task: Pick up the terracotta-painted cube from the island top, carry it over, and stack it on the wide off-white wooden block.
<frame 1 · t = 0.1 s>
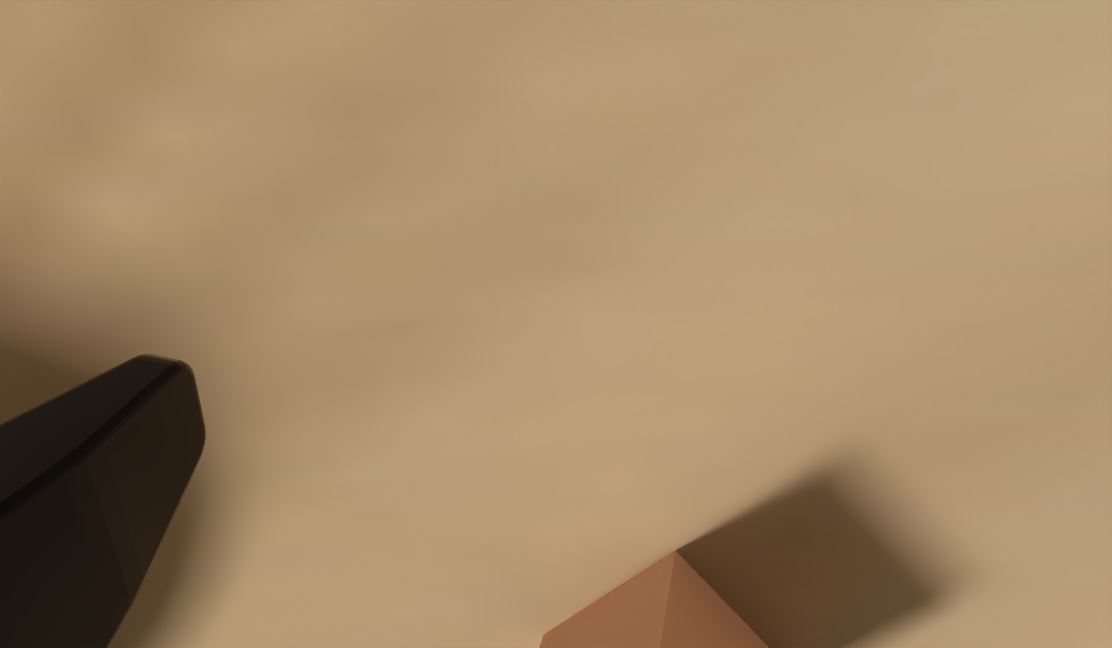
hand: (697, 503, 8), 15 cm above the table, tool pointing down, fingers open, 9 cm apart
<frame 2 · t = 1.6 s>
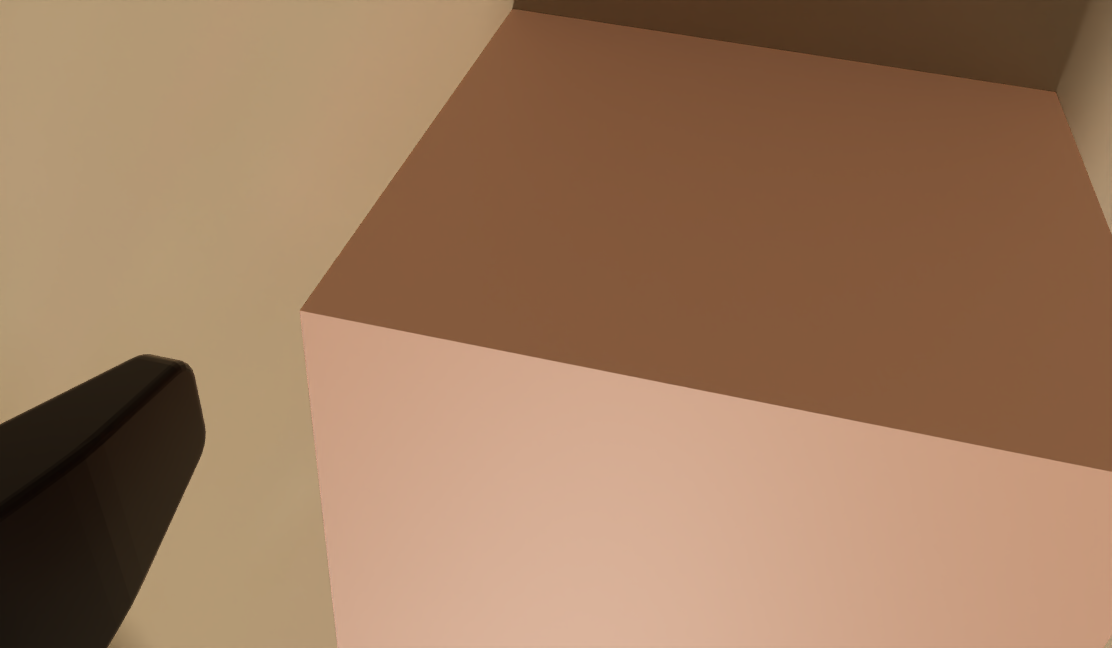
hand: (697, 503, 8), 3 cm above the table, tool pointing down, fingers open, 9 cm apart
terracotta cube: (728, 265, 11), on the table
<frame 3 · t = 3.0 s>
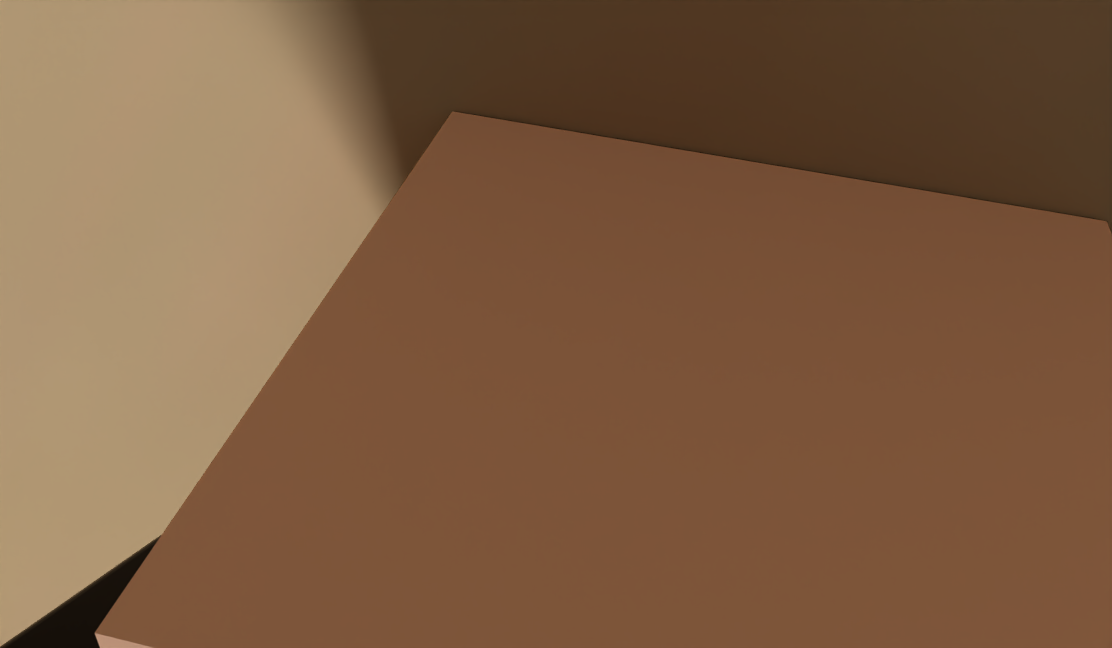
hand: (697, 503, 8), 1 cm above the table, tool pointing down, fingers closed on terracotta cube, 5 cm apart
terracotta cube: (712, 402, 9), on the table, touching gripper
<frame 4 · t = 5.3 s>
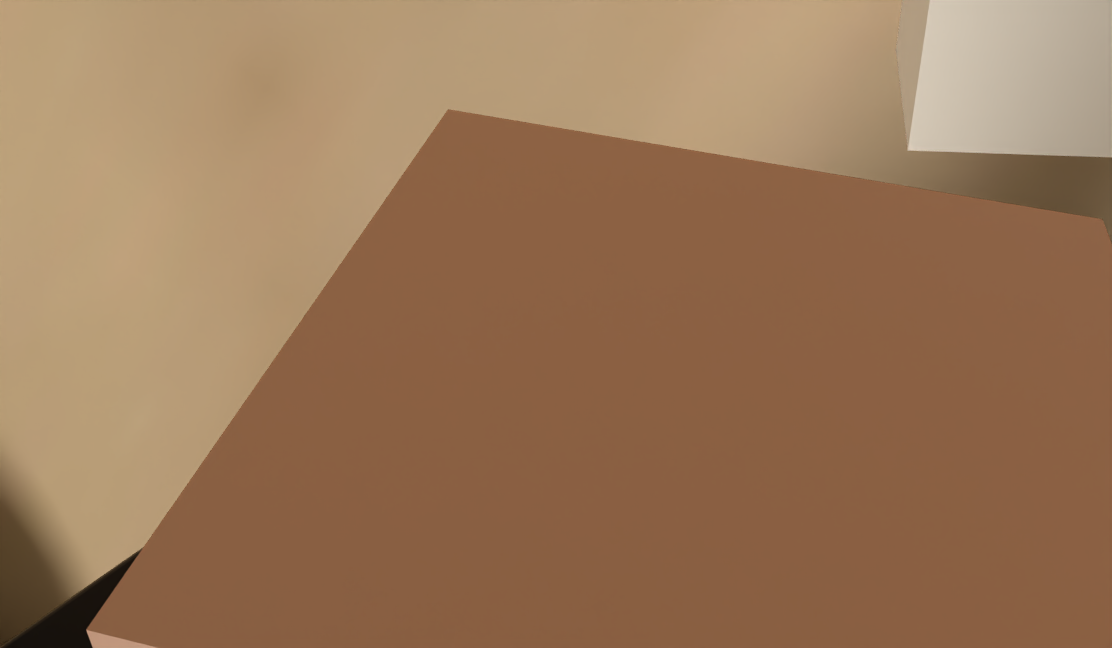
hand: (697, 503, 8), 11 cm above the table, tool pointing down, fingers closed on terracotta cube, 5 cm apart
terracotta cube: (708, 401, 9), point 10 cm above the table, touching gripper
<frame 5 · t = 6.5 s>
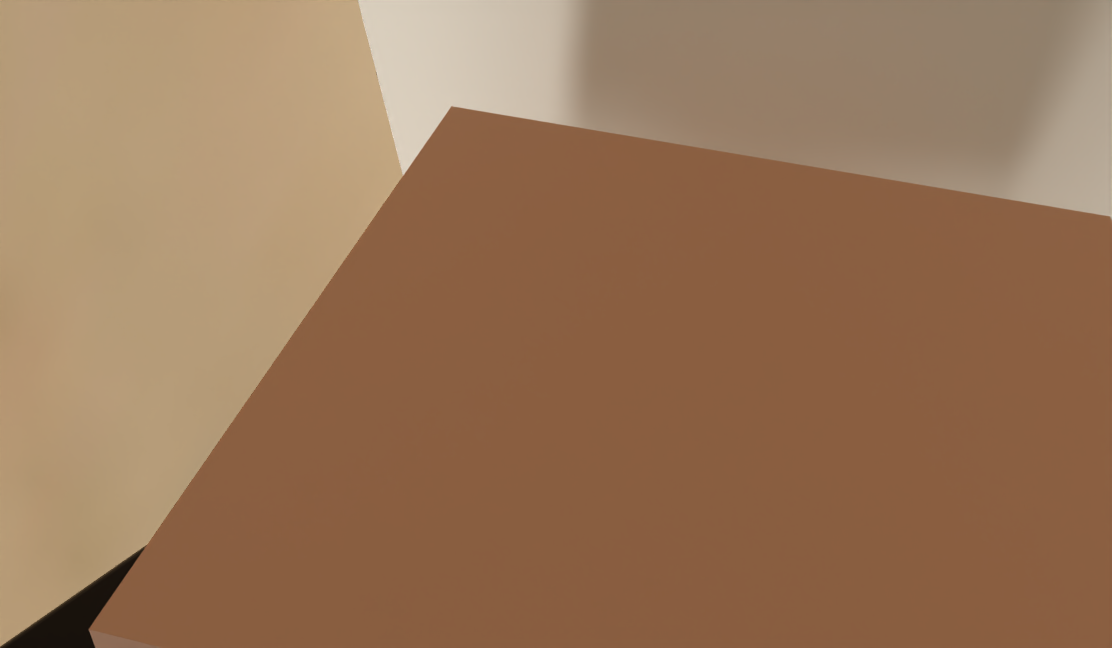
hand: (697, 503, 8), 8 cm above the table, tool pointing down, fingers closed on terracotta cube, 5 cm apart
terracotta cube: (712, 399, 9), point 7 cm above the table, touching gripper
base block: (762, 81, 15), on the table
when the fingers open (7 cm above the table, at t = 7.6 s): terracotta cube drops 2 cm, resting on base block.
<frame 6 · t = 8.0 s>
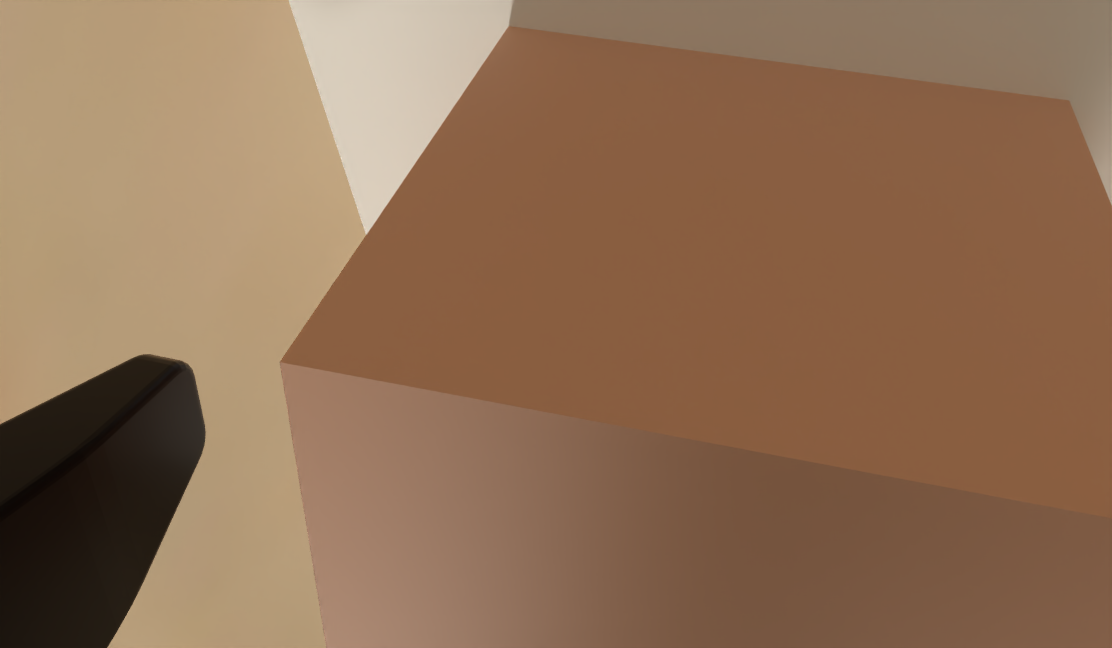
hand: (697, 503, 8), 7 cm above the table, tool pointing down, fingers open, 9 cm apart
terracotta cube: (734, 285, 11), point 4 cm above the table, touching base block
base block: (757, 123, 14), on the table, touching terracotta cube
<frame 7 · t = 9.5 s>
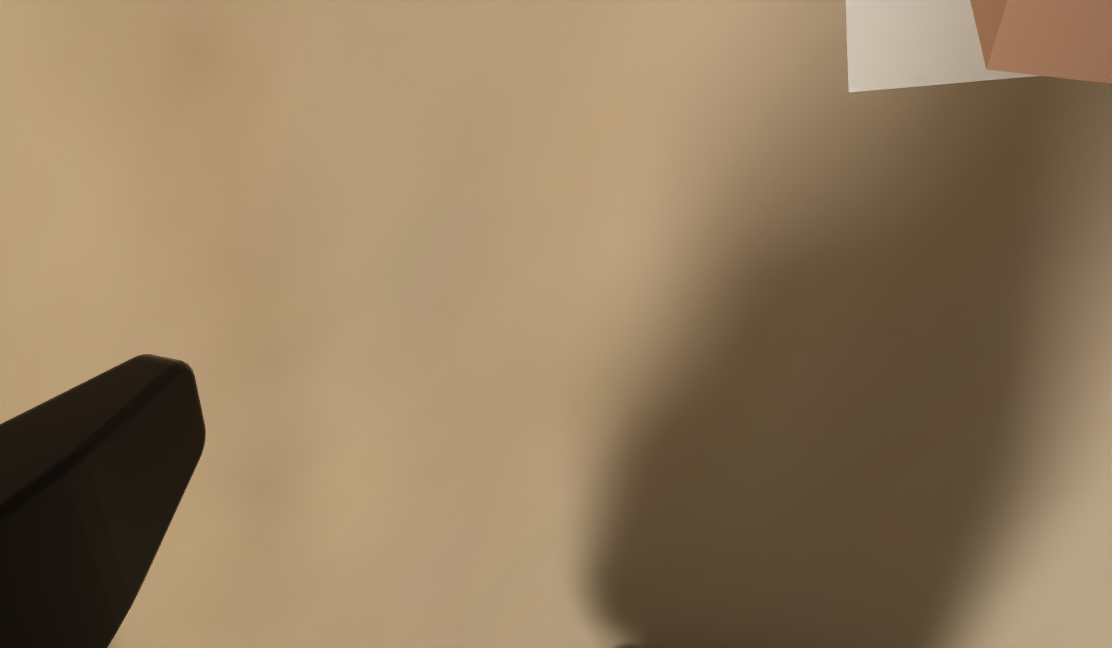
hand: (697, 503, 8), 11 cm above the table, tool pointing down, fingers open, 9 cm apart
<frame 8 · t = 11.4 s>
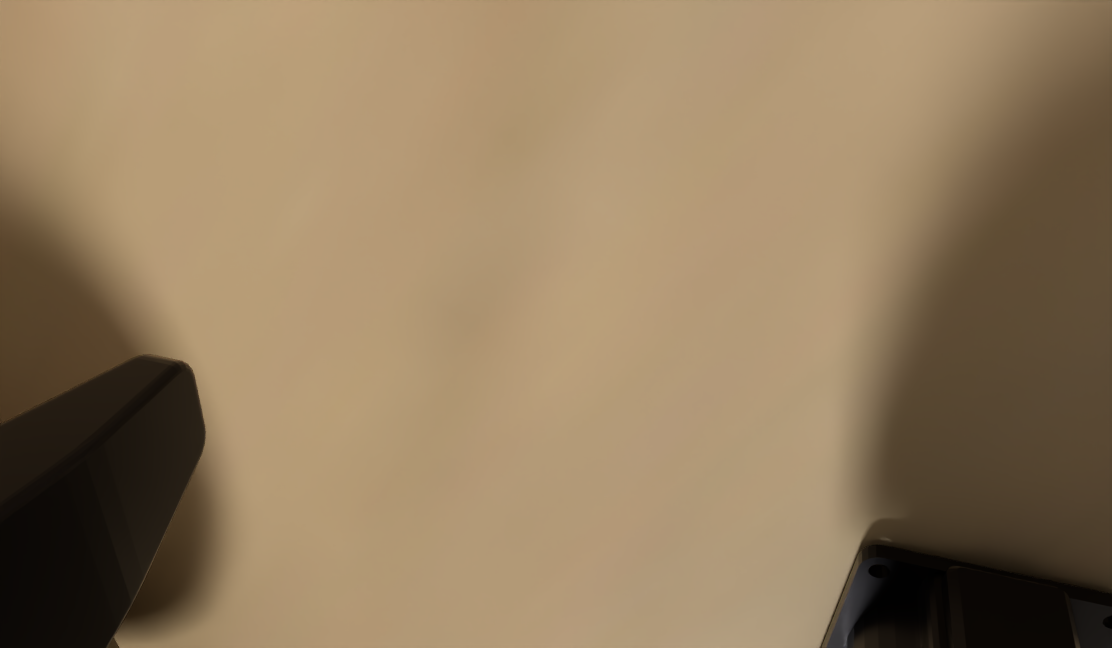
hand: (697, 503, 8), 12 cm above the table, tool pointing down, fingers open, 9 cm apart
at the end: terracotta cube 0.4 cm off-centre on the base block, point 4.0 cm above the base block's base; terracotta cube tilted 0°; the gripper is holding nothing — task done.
